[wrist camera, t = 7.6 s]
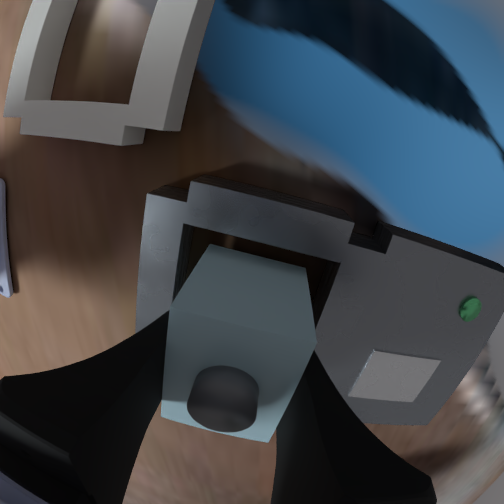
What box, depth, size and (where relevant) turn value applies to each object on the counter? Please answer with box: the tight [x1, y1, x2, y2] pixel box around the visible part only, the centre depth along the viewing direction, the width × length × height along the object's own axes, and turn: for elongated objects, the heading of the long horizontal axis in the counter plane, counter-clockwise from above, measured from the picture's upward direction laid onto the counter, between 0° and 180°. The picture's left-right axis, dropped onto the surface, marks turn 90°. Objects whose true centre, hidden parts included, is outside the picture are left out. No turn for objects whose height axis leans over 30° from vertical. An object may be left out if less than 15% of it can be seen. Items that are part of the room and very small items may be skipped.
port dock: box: [136, 175, 504, 425], centre depth 13 cm, size 17×10×2 cm, turn 76°
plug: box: [161, 244, 317, 443], centre depth 11 cm, size 4×5×6 cm
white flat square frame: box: [3, 0, 215, 146], centre depth 9 cm, size 9×10×2 cm
